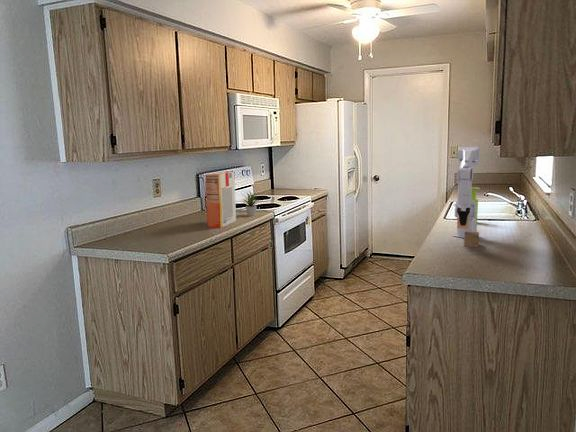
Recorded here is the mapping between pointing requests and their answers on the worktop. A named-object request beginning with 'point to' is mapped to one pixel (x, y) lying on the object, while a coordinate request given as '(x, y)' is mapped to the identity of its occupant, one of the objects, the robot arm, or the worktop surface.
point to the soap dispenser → (474, 199)
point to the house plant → (251, 204)
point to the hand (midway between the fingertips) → (463, 224)
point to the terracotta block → (462, 225)
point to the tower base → (470, 243)
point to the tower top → (471, 236)
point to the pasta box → (220, 198)
